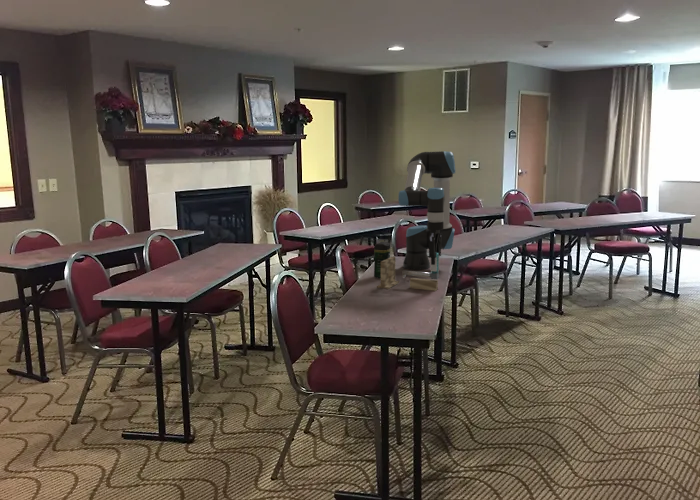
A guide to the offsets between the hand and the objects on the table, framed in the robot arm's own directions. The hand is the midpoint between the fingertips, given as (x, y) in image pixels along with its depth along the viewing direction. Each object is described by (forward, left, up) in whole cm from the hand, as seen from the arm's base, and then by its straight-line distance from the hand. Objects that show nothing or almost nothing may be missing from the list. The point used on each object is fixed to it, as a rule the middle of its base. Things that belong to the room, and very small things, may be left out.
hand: (434, 270), depth 275 cm
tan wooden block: (0, -24, -10) cm, 26 cm away
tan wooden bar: (0, -5, -10) cm, 11 cm away
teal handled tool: (0, -7, -5) cm, 9 cm away
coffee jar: (-16, -34, -10) cm, 39 cm away
